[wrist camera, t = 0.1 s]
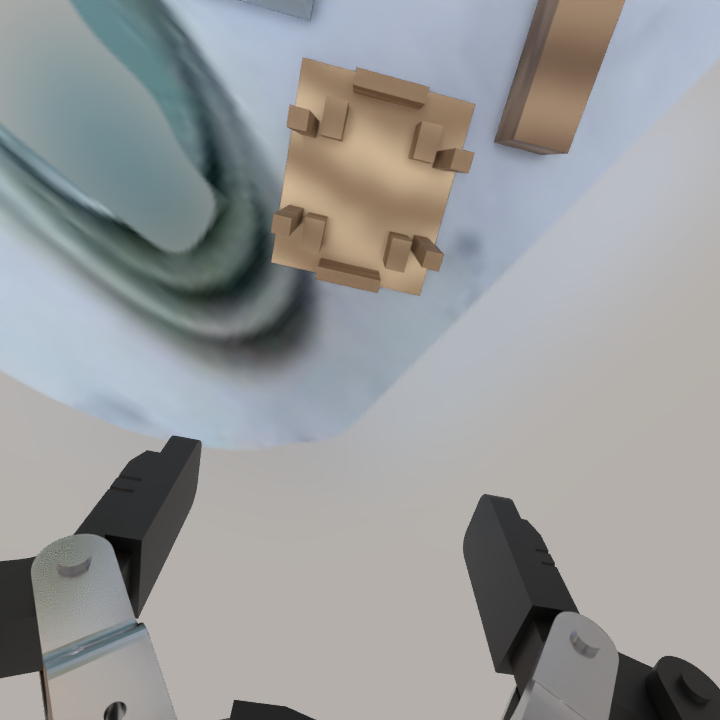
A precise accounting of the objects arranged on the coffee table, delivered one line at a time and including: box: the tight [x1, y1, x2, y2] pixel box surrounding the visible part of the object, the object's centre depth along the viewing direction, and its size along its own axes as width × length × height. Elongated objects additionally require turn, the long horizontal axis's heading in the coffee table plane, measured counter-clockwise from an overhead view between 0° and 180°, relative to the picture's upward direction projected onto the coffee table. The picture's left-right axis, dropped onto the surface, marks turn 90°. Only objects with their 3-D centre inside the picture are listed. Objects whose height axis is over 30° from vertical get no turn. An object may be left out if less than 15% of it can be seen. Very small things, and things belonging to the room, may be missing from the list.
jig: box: [271, 58, 475, 296], centre depth 33 cm, size 15×13×8 cm
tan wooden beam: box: [494, 0, 625, 155], centre depth 32 cm, size 11×4×5 cm, turn 167°
